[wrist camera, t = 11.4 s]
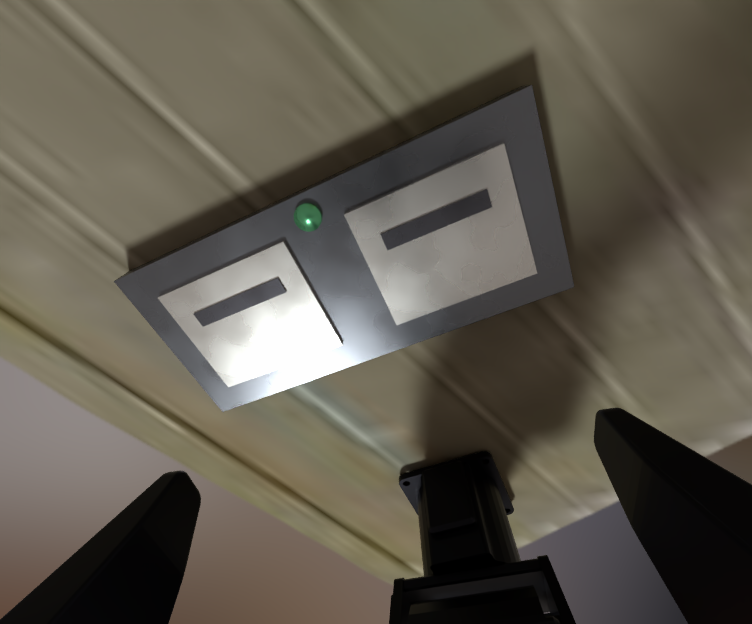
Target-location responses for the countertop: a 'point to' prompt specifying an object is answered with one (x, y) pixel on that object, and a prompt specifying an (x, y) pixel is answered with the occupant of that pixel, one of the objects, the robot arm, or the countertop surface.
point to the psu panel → (365, 258)
